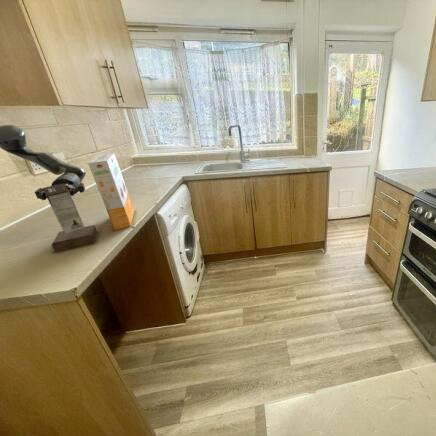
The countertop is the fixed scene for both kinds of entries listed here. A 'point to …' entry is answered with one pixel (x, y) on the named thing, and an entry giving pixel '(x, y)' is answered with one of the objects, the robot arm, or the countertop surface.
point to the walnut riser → (75, 239)
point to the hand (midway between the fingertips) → (56, 195)
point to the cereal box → (112, 189)
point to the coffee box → (64, 207)
